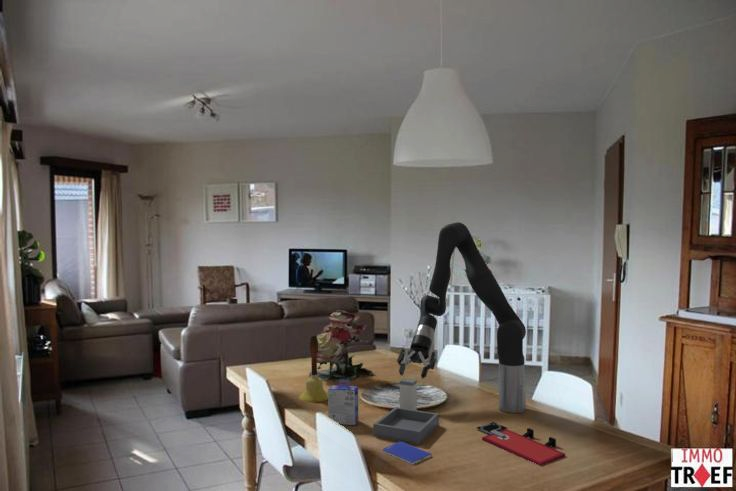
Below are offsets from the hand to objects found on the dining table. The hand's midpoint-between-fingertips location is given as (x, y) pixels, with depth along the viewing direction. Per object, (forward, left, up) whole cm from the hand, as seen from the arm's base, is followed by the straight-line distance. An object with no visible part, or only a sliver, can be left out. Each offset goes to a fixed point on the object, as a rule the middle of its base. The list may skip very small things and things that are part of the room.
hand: (411, 375), depth 198 cm
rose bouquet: (+49, -29, -13) cm, 58 cm away
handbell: (+41, +3, -13) cm, 43 cm away
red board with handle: (-41, +14, -13) cm, 45 cm away
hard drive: (-13, +37, -13) cm, 41 cm away
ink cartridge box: (+17, +22, -13) cm, 30 cm away
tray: (-6, +20, -13) cm, 24 cm away
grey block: (0, +4, -13) cm, 13 cm away
